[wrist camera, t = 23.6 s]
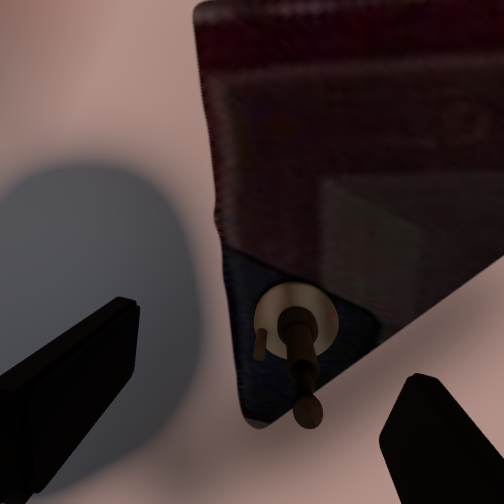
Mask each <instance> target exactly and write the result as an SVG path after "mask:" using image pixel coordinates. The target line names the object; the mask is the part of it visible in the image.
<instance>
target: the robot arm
mask: <svg viewBox="0 0 504 504" xmlns="http://www.w3.org/2000/svg"><path fill="white" fill-rule="evenodd" d="M139 317H140V307H139V306H138V305H137V304H136V301H135V300H132V299H128V298H124V297H116V298H115V299H113V300H112V301H110V302H109V303H107V304H106V305H104V306H103V307H101V308H100V309H98V310H97V311H95V312H94V313H92V314H91V315H89V316H88V317H87V318H85V319H84V320H82V321H81V322H79V323H78V324H76V325H75V326H73V327H72V328H70V329H69V330H67V331H66V332H64V333H63V334H61V335H60V336H58V337H57V338H55V339H54V340H52V341H51V342H50V343H48V344H47V345H45V346H44V347H42V348H41V349H39V350H38V351H36V352H35V353H33V354H32V355H30V356H29V357H27V358H26V359H24V360H23V361H21V362H20V363H18V364H17V365H15V366H14V367H13V368H11V369H10V370H8V371H7V372H5V373H4V374H2V375H1V376H0V504H2V503H4V504H25V503H26V502H27V501H28V499H29V498H30V497H31V496H32V494H33V493H39V492H41V491H42V490H43V489H44V488H45V487H46V485H47V484H48V483H49V482H50V481H51V479H52V478H53V477H54V476H55V474H56V473H57V471H58V470H59V469H60V468H61V467H62V465H63V464H64V463H65V461H66V460H67V459H68V458H69V456H70V455H71V454H72V452H73V451H74V450H75V449H76V447H77V446H78V445H79V444H80V442H81V441H82V440H83V438H84V437H85V436H86V434H87V433H88V432H89V431H90V429H91V428H92V427H93V426H94V424H95V423H96V422H97V420H98V419H99V418H100V417H101V415H102V414H103V413H104V412H105V410H106V409H107V408H108V406H109V405H110V404H111V403H112V401H113V400H114V399H115V397H116V396H117V395H118V393H119V392H120V391H121V389H122V388H123V387H124V386H125V384H126V383H127V382H128V381H129V379H130V378H131V376H132V374H133V371H134V367H135V357H136V347H137V337H138V327H139ZM379 445H380V449H381V452H382V454H383V457H384V459H385V462H386V465H387V467H388V470H389V473H390V475H391V478H392V480H393V483H394V486H395V488H396V491H397V493H398V496H399V499H400V501H401V504H504V458H503V457H502V456H501V455H500V454H499V452H498V451H497V450H496V449H495V447H494V446H493V445H492V444H491V443H490V441H489V440H488V439H487V438H486V437H485V435H484V434H483V433H482V432H481V430H480V429H479V428H478V427H477V425H476V424H475V423H474V422H473V421H472V419H471V418H470V417H469V416H468V415H467V413H466V412H465V411H464V410H463V408H462V407H461V406H460V405H459V404H458V403H457V401H456V400H455V399H454V398H453V396H452V395H451V394H450V393H449V391H448V390H447V389H446V388H445V387H444V385H443V384H442V383H441V382H440V381H439V380H438V379H437V378H435V377H431V376H427V375H424V374H419V373H415V374H413V376H410V377H408V378H407V380H406V382H405V384H404V386H403V388H402V390H401V392H400V394H399V396H398V398H397V400H396V402H395V404H394V406H393V409H392V411H391V413H390V415H389V417H388V419H387V421H386V423H385V425H384V427H383V429H382V431H381V433H380V436H379Z"/></svg>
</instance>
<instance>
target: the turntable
mask: <svg viewBox="0 0 504 504" xmlns="http://www.w3.org/2000/svg"><path fill="white" fill-rule="evenodd" d="M293 306H300V307H304V308H306V309H308V310H309V311H311V312H312V313H313V315H314V316H315V318H316V321H317V325H318V337H317V339H316V341H315V342H314V343H313V344H314V349H315V353H316V356H317V355H319V354H321V353H322V352H324V351H325V350H326V349H327V348H328V347H330V345H331V344H332V343H333V341H334V339H335V338H336V335H337V332H338V326H339V321H338V315H337V312H336V309H335V307H334V305H333V303H332V301H331V300H330V298H329V297H328V296H327V295H326V294H325V293H324V292H323V291H322V290H320V289H319V288H317V287H315V286H313V285H311V284H307V283H303V282H287V283H282V284H280V285H277V286H275V287H273V288H271V289H270V290H268V291H267V292H266V293H265V294H264V295H263V296H262V297H261V299H260V301H259V302H258V304H257V307H256V310H255V315H254V328H255V332H256V341H255V347H254V353H253V357H254V358H255V359H256V360H258V361H262V360H264V359H265V354H266V349H267V350H269V351H270V352H271V353H273V354H275V355H277V356H279V357H282V358H285V359H287V351H286V345H285V344H284V343H283V342H282V341H281V340H280V338H279V336H278V332H277V321H278V318H279V316H280V314H281V313H282V312H283V311H284V310H285V309H287V308H289V307H293Z"/></svg>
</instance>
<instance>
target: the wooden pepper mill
mask: <svg viewBox="0 0 504 504" xmlns="http://www.w3.org/2000/svg"><path fill="white" fill-rule="evenodd" d="M277 332H278V336H279V338H280V340H281V341H282V342H283V343H284V344H285V345H286V351H287V373H288V376H289V378H290V379H291V380H292V381H294V382H295V389H296V391H297V392H298V393H299V395H298V396H297V398H296V400H295V401H294V404H293V414H294V417H295V420H296V421H297V423H298V424H299V425H300V426H302V427H303V428H306V429H314V428H316V427H318V426H319V424H320V423H321V421H322V418H323V409H322V405H321V403H320V402H319V400H318V399H317V398H316V397H315V396H314V395H313V394H312V393H313V392H314V390H315V383H314V381H315V380H316V379H317V378H318V377H319V374H320V369H319V365H318V361H317V357H316V353H315V349H314V344H313V343H314V342H315V341H316V339H317V337H318V325H317V321H316V318H315V316H314V315H313V313H312V312H311V311H309V310H308V309H306V308H304V307H300V306H293V307H289V308H287V309H285V310H284V311H283V312H282V313H281V314H280V316H279V318H278V321H277Z"/></svg>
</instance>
